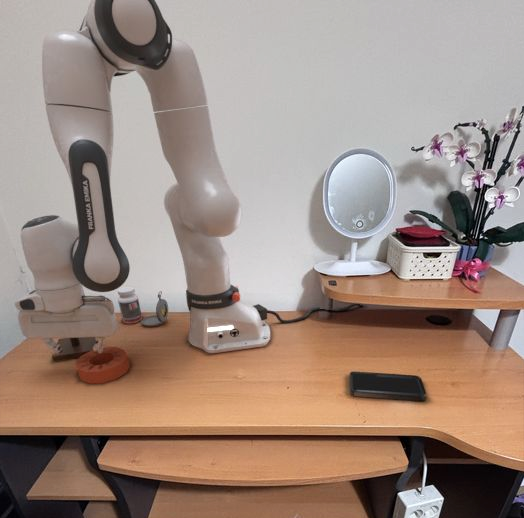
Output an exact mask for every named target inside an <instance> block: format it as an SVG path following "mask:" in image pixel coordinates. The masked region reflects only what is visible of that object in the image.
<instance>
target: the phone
mask: <svg viewBox="0 0 524 518" xmlns="http://www.w3.org/2000/svg"><path fill="white" fill-rule="evenodd" d="M348 377H349V394H350V395H351V396H352V397H353V396H354V397H361V398H362V397H363V398H376V399H389V400H401V401H413V402H414V401H415V402H424V401H425V400H426V398H427V391H426V389H425V386H424V382H423V379H422V377H421V376H419V375H415V374H403V373H402V374H401V373H386V372H371V371H370V372H369V371H357V370H355V371H350V372H349V376H348Z"/></svg>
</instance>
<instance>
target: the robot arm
mask: <svg viewBox="0 0 524 518" xmlns="http://www.w3.org/2000/svg"><path fill="white" fill-rule="evenodd" d="M41 51H42V52H41V73H42V75H41V76H42V87H43V96H44V105H45V112H46V116H47V117H46V118H47V121H48V125H49V130H50V134H51V137H52V139H53V142H54V145H55V147H56V151H57V152H58V154H59V157H60V158H61V161H62V164H63V165H64V168H65V170H66V172H67V175H68V178H69V181H70V183H71V188H72V193H73V199H74V206H75V207H74V208H75V215H76V220H77V223H74V222H71V221H69V220H66V219H64V218H63V217H61V216H60V215H56V214H49V215H43V216H39V217H36V218H33V219H31V220H28V221H27V222H26V223H24V225H23V226H22V227H21V229H20V242H21V247H22V251H23V254H24V258H25V262H26V265H27V267H28V269H29V270H30V272H31V273H32V276H33V286H34V289H33V290H30V291H28V292H26V293H25V294H23V295H22V296H20V297H19V298H18V299H16V301H15V302H14V306H15V308H16V309H17V311H18V313H17V321H18V324H19V328H20V330H21V333H22V335H23V336H24V337H25V338H27V339H28V340H34V339H36V340H37V339H38V340H40V339H42V342H43V344H45V345H46V347H48V348H49V349H50V350H51V353H52V355H53V354H61V353H62V348H61V345H57V342H55V340H54V339H62V338H80V337H95V339H96V341H98V344H95V346H93V350H94V353H102V352H103V343H104V340H105V338H111V337H114V336H115V335H116V333H117V332H118V331H119V330H120V329H119V328H120V325H119V322H118V318H117V315H116V313H115V306H114V302H113V301H112V299H110V298H108V297H106V296H105V295H86V294H85V290H84V288H86V289H88V290H90V291H91V292H92V291H93V292H96V293H108V292H112V291H115V290H118V289H120V288H121V287H123V285H124V284H125V283H126V281H127V279H128V277H129V275H130V270H131V269H130V267H131V266H130V263H129V259H128V256H127V255H126V252H125V251H124V249H123V247H122V246H121V244H120V242H119V239H118V237H117V231H116V224H115V215H114V206H113V198H112V190H111V188H112V187H111V174H112V173H111V172H112V164H113V153H114V152H113V151H114V129H115V128H114V114H113V113H114V112H113V104H112V96H111V93H112V82H113V80H114V79H113V78H114V77H120V76H121V77H122V76H125V75H128V74H130V73H133V72H136V73H137V74H138V76H140V78H141V79H142V80H143V82H144V84H145V86H146V88H147V92H148V93H149V96H150V101H151V107H152V112H153V115H154V119H155V125H156V128H157V133H158V137H159V142H160V145H161V146H160V147H161V150H162V154H163V157H164V159H165V161H166V162H167V163H168V165H169V168H170V169H171V171H172V173H173V175H174V178H175V181H176V183H174V184H172V185H170V186H169V187H168V189H166V191H165V193H164V197H163V206H164V210H165V213H166V214H167V216H168V218H169V220H170V222H171V226H172V229H173V233H174V236H175V238H176V242H177V245H178V248H179V251H180V253H181V254H180V255H181V258H182V262H183V268H184V275H185V282H186V290H185V299H186V305H187V308H188V311H189V330H188V335H187V341H188V342H189V344H191V345H192V346H193V347H195V348H199V349H202V350H203V351H204V352H206V353H207V354H217V353H218V354H219V353H224V352H225V353H226V352H232V351H233V352H234V351H240V350H246V349H247V350H248V349H254V348H261V347H265V346H267V344H269V342H270V340H271V337H272V336H271V328H270V326H269V324H268V323H267V322H265V320H268V314H270V315H273V316H275V317H276V319H277V321H278V322H280V323H283V324H292V323H296V322H299V321H301V320H304V319H306V318H307V317H309V316H310V314H311V313H312V312H314V311H321V310H320V307H321V306H315V307H312V308H310V309H309V310H308V311H307V312H306V313H305V314H303V315H302V316H299V317H296V318H293V319H287V320H286V319H282V318H281V316H280V315H279V313H277V312H276V311H273V310H270V309H268V308H267V307H265V306H263V305H262V304H260V303H258V304H254V305H251V304H250V303H248V302H247V301H245V300H243V299H241V294H240V289H239V287H238V285H237V284H236V285H233V284H232V283H231V274H230V273H231V272H230V261H229V254H228V252H227V250H226V249H225V247H224V246H223V242H222V241H221V238H225V237H228V236H230V235H232V234H233V233H235V231H236V230H237V229H238V228H239V226H240V224H241V222H242V217H243V210H242V209H243V208H242V204H241V202H240V199H239V198H238V197H237V195H236V194H235V193H234V191H233V190H232V188H231V187H230V184H229V182H228V179H227V177H226V174H225V171H224V169H223V167H222V163H221V160H220V158H219V155H218V152H217V148H216V144H215V138H214V132H213V128H212V121H211V115H210V109H209V103H208V99H207V93H206V88H205V84H204V80H203V75H202V73H201V69H200V67H199V63H198V60H197V57H196V53H195V52H194V50H193V48H192V47H191V45H190V44H188V43H187V42H185V41H183V40H181V39H179V38H175V37H173V33H172V30H171V27H169V25H168V23H167V21H166V20H165V19H164V17H163V14H162V11H161V9H160V7H159V5H158V4H157V1H156V0H90V3H89V5H88V7H87V11H86V13H85V16H84V18H83V20H82V22H81V25H80V27H79V30H77V31H75V30H73V29H72V30H71V29H58V30H54V31H52V32H49V33H48V34H47V35H46V36H45V37H44V40H43V42H42V50H41ZM360 304H361V305H360ZM360 304H354V303H351V304H349V305H347V306H345V307H340V308H334V307H331V308H332V309H331V311H330V312H344V311H347V310H349V309H351V308H353V307H359V308H365V306H364V305H363V304H362V303H360Z"/></svg>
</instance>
